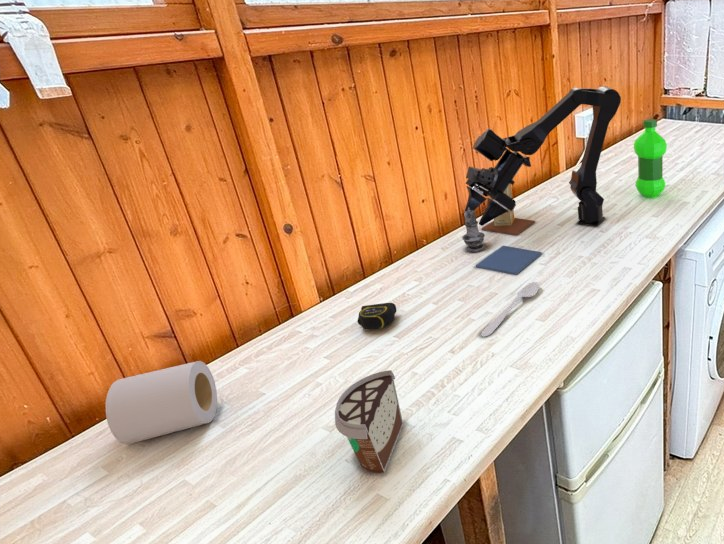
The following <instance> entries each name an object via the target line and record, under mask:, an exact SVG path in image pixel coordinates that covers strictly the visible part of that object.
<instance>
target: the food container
mask: <svg viewBox="0 0 724 544" xmlns="http://www.w3.org/2000/svg"><path fill="white" fill-rule="evenodd" d="M395 380H396V377H395V374H394V372H393V371H392V369H388V370H383V371H379V372H375V373H371V374H369V375H367V376H364V377H362V378H360V379H359V380H358V381H356V382H354V383H352V384H351V385H350V386H349V387H348V388H346V390H344V391H343V393H342V394H341V395H340V396H339V398H338V399H337V402H336V406H335V409H334V424H335V428H336V430H337V431H338V432H339V433H340V434H341V435H342V436H344V437H346V438H347V440H348V443H349V444H350V447H351V448H352V450H353V453H354V455H355V457H356V459H357V461H358V463H359V465H360V466H361V468H362V469H364V470H365V471H368V472H371V473H376V474H384V473H386V470H387V467H388V464H389V462H390V459H391V456H392V454H393V452H394V449H395V446H396V444H397V441H398V438H399V436H400V434H401V431H402V429H403V426H404V421H403V416H402V411H401V407H400V402H399V397H398V393H397V389H396V384H395Z"/></svg>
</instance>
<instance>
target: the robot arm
mask: <svg viewBox="0 0 724 544" xmlns="http://www.w3.org/2000/svg"><path fill="white" fill-rule="evenodd" d="M621 103H622V96H621V95H620V93H619V92H618V90H616V89H614V88H612V87H608V86H607V85H606V86H605V85H602V86H599V87H598V88H580V87H577V86H576V87H572V88H570V89H569V91H568V93H566V94H565V96H563V97H562V98H561V99H559V101H558V102H556V104H554V105H553V106H552V107H551V108H550V109H548V111H547V112H546V113H544V115H542V116H541V117H540V118H539V119H538V120H536V121H535V122H532V123H530V124H527V125H526V126H525V127H522V129H519V130H518V131H517V132H516V133H515V134H514V135H510V136H507V137H503V138H502V137H501V136H500V135H498V134H497V133H495V132H494V130H493V129H491V128H490V127H488V128H487V129H486V131H484V132H483V133H482V134H481V135H478V137H477V138H476V140H475V141H474V143H473V146H472V149H473V150H474V151H476V152H477V153H478V154H480V155H481V156H483V157H484V158H486V159H487V160H488V161H490V162H493V161H494V162H496V161H497V163H496V164H495V166H494V167H492V166H490V167H489V168H484V167H482V168H479V167H474V166H468V168H467V172H466V175H465V179H466V182H465V185H466V190H467V192H468V198H467V200H466V201H467V202H466V204H465V208H464V212H463V214H464V213H465V212H466V211H467V210H468V207H469V208H470V210H473V211H474V212H475V210H476V209H478V208H479V207H480V206H481V205H482V204H484V203H485V201H486V200H487V206H486V208H485V210H484V212H483V214H482V215H481V218H480V220H479V221H478V225H479V226H481V227H484V226H486V225H487V224H489V223H490V222H492V221H494V218H496V217H498V216H500V215H502V214H504V213H505V212H507V213H508V212H509V211H508V210H507V209H509V210H510V211H513V209H515V207H516V206H517V203H516V200H515V199H513V197H512V198H511V197H509V196H508V195H506V194H505V193H504V192H505V190H506V189H507V187H508V186H509V184H510V185H511V186H514V184H515V183H516V181H514V178H515V177H516V176H517V174H518V173H519V171H520V170H521V168H522V166H525V167H528V168H531V167H532V164H531V159H530V156H533V155H535V154H536V153H537V152H538V151H539V149H541V147H542V146H543V144H544V143H545V141H546V139H547V137H548V136H549V134H550V133H552V131H553V130H555V128H557V127H558V126H559V125H560V124H561V123H563V121H564V120H565V119H566V118H568V117H569V116H570V115H571V114H572V113H573V112H574V111H575V110H577V108H579V107H580V106H581V105H586V106H592V122H591V124H590V125H591V126H590V129H589V133H588V137H587V140H586V145H585V149H584V152H583V157H582V159H581V163H580V164H581V165H580V167H579V168H578V170H572V171H571V178H570V180H569V181H568V184H569V185H570V191H571V193H572V194H573V195H574V196H575V197H576V199H578V200H579V202H578V206H577V219H578V221H577V223H576V224H577V225H582V226H589V227H598V226H599V225H601V224H602V223H603V221H605V220H606V217H605V216H604V213H603V204H604V202H605V198H604V197H603V196H601V194H600V193H599V192H597V184H598V183H597V170H598V169H597V168H598V166H599V161H600V158H601V154H602V150H603V147H604V143H605V140H606V136H607V132H608V128H609V124H610V122H611V121H612V120H613V118H614V116H616V114H617V112H618V110H619V108H620V105H621ZM524 155H525V156H524ZM491 198H492V199H494V200H491Z"/></svg>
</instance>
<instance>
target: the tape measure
mask: <svg viewBox="0 0 724 544" xmlns="http://www.w3.org/2000/svg"><path fill="white" fill-rule="evenodd" d="M396 313H397V306H396V304H395V303H394V302H384V303H375V304H367V305H362V306H361V308H360V311H359V313H358V317H357V324H358V325H359V326H360V327H362V329H363V330H366V331H377V330H381V329H384V328H387V327H388V326H390V325H391V324H392V323H393V322H394V321H395V319H396Z"/></svg>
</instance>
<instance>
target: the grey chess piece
mask: <svg viewBox="0 0 724 544" xmlns="http://www.w3.org/2000/svg"><path fill="white" fill-rule="evenodd" d="M464 212H465V211H464ZM464 212H463V216H464V221H465V222H464V223H463V224H464V226H465V227H466V228H465V229H466V233H465V234H464V235H463V236H462V237H461V238H462V240H463V243H464V244H465V245H466V247H465V252H467V253H471V254H472V253H473V254H474V253H475V254H476V253H480V252H482V251H484V250H485V248H486V245H485V244H483V243H484V240H485V233H484V232H482V231H480V230H479V227H478V225H479V221H477V216H476V211H475V210H474V211H473V210H470V208H469V207H468V210H467V211H466V212H465V213H464Z"/></svg>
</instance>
